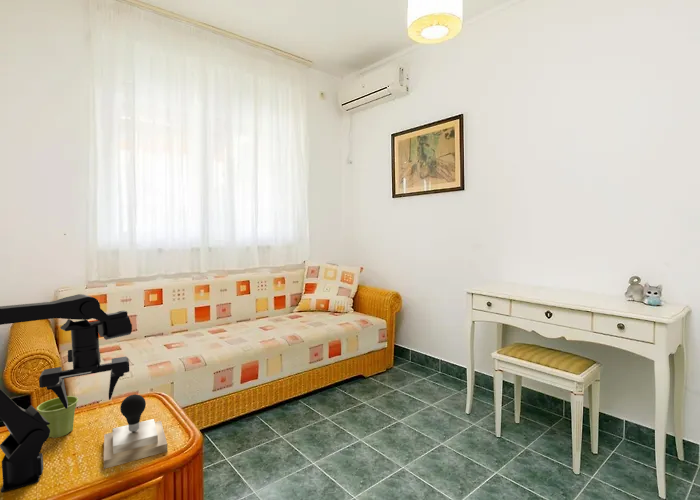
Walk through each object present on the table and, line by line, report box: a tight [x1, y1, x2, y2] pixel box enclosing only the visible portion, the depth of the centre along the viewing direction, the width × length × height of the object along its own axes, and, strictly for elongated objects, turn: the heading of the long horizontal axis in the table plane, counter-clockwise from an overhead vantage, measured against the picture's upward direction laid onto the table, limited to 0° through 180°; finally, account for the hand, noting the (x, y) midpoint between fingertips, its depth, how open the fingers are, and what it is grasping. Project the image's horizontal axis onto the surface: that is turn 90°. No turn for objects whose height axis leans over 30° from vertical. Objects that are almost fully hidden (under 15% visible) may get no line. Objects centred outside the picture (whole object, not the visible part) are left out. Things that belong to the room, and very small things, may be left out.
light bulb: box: [120, 394, 147, 432], centre depth 103 cm, size 6×6×10 cm
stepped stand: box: [103, 418, 168, 470], centre depth 103 cm, size 14×14×4 cm
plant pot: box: [36, 395, 79, 439], centre depth 110 cm, size 9×9×9 cm
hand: (88, 403), depth 100 cm, fingers open, 9 cm apart
